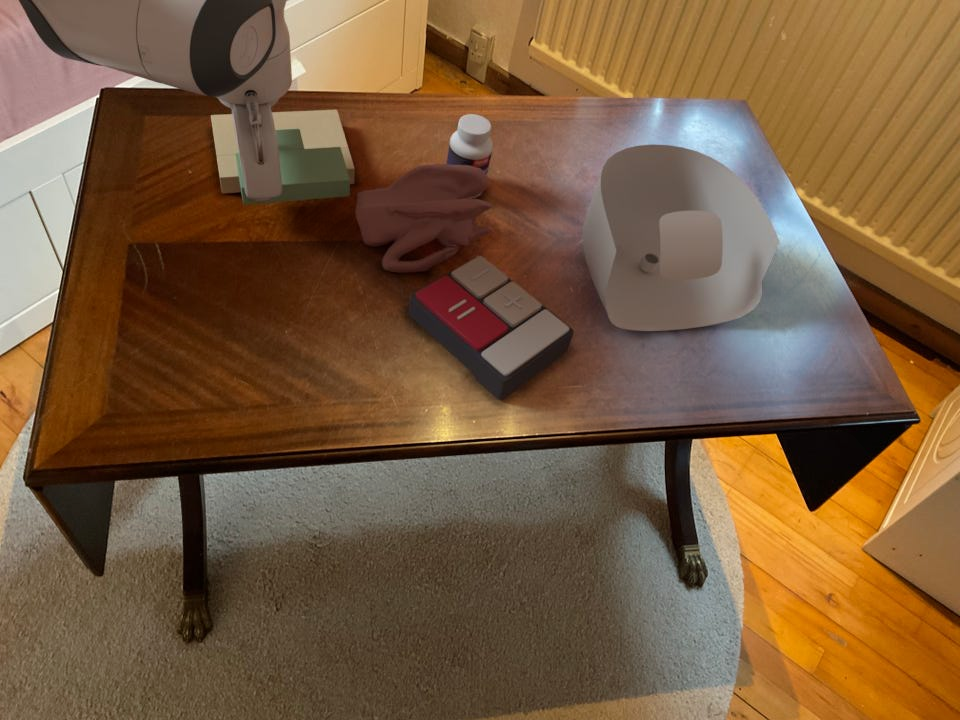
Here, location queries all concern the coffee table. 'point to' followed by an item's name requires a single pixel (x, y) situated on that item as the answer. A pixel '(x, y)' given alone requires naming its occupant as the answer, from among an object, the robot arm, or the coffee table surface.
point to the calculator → (491, 325)
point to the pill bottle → (471, 143)
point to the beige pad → (313, 126)
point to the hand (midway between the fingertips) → (257, 174)
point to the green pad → (305, 171)
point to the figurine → (424, 214)
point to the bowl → (675, 240)
